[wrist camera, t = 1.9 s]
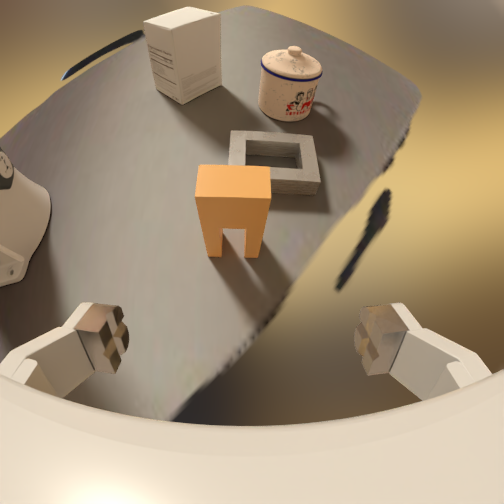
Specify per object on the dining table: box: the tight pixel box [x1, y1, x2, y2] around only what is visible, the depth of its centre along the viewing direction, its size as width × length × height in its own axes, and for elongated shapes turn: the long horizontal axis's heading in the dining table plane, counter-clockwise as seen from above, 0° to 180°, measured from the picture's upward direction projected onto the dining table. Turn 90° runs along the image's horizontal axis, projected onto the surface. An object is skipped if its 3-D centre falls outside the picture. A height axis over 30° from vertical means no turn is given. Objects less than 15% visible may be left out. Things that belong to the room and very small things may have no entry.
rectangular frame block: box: [228, 130, 321, 196], centre depth 34 cm, size 8×11×3 cm
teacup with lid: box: [258, 46, 322, 121], centre depth 36 cm, size 12×9×12 cm
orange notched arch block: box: [195, 165, 271, 258], centre depth 26 cm, size 6×3×12 cm, turn 90°
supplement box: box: [143, 7, 222, 105], centre depth 35 cm, size 9×9×15 cm
